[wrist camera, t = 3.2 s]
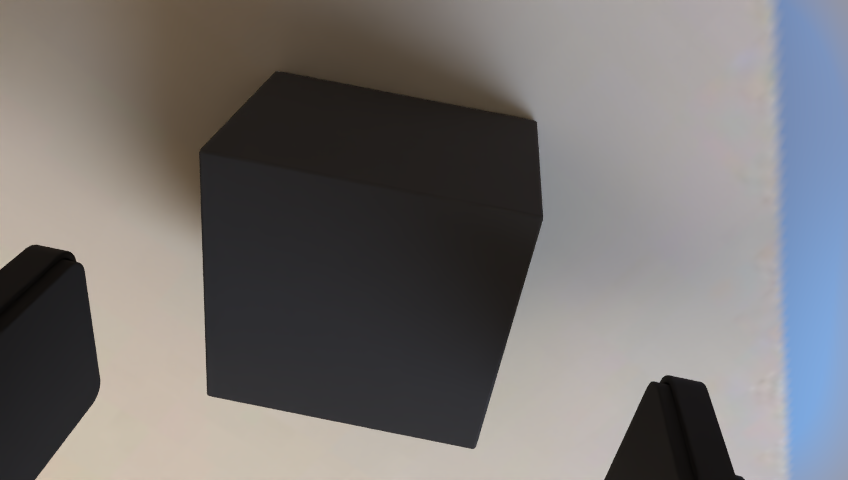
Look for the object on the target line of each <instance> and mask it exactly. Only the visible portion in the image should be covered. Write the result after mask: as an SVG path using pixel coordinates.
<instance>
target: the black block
mask: <svg viewBox="0 0 848 480" xmlns="http://www.w3.org/2000/svg"><path fill="white" fill-rule="evenodd" d="M199 158H200V189H201V219H202V250H203V281H204V312H205V343H206V373H207V395H209V396H212V397H217V398H222V399H227V400H232V401H237V402H242V403H247V404H252V405H257V406H262V407H267V408H272V409H277V410H282V411H286V412H291V413H296V414H301V415H306V416H311V417H316V418H321V419H326V420H331V421H336V422H341V423H346V424H351V425H356V426H361V427H366V428H371V429H376V430H381V431H386V432H391V433H396V434H401V435H406V436H411V437H416V438H421V439H426V440H431V441H436V442H441V443H446V444H451V445H456V446H461V447H465V448H470V449H474V448H475V447H476V445H477V441H478V438H479V435H480V431H481V428H482V424H483V421H484V418H485V414H486V411H487V407H488V404H489V401H490V397H491V394H492V390H493V387H494V384H495V380H496V377H497V373H498V370H499V367H500V363H501V360H502V356H503V353H504V350H505V346H506V343H507V340H508V336H509V333H510V329H511V326H512V323H513V319H514V316H515V312H516V309H517V306H518V302H519V299H520V295H521V292H522V289H523V285H524V282H525V278H526V275H527V272H528V268H529V265H530V262H531V258H532V255H533V251H534V248H535V245H536V241H537V238H538V234H539V231H540V228H541V224H542V221H543V209H542V194H541V178H540V163H539V147H538V132H537V122H536V121H534V120H528V119H523V118H518V117H513V116H508V115H502V114H497V113H492V112H487V111H482V110H476V109H471V108H466V107H461V106H455V105H450V104H445V103H440V102H435V101H429V100H424V99H419V98H414V97H409V96H403V95H398V94H393V93H388V92H383V91H377V90H372V89H367V88H362V87H357V86H351V85H346V84H341V83H336V82H331V81H325V80H320V79H315V78H310V77H305V76H299V75H294V74H289V73H284V72H279V71H277V72H275V73H274V74H273V75H272V76H271V77H270V78H269V79H268V80H267V81H266V82H265V83H264V84H263V85H262V86H261V87H260V88H259V90H258V91H257V92H256V93H255V94H254V95H253V96H252V97H251V98H250V99H249V100H248V101H247V102H246V103H245V104H244V105H243V106H242V107H241V108H240V109H239V110H238V111H237V112H236V113H235V114H234V115H233V116H232V117H231V118H230V119H229V120H228V122H227V123H226V124H225V125H224V126H223V127H222V128H221V129H220V130H219V131H218V132H217V133H216V134H215V135H214V136H213V137H212V138H211V139H210V140H209V141H208V142H207V143H206V144H205V145H204V146H203V147H202V148H201V149H200V151H199Z"/></svg>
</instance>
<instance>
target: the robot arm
mask: <svg viewBox="0 0 848 480" xmlns="http://www.w3.org/2000/svg"><path fill="white" fill-rule="evenodd" d="M99 388H100V375H99V368H98V361H97V354H96V347H95V340H94V333H93V326H92V319H91V312H90V305H89V298H88V292H87V285H86V278H85V271H84V267H83V265H82V264H81V263H78V262H76V259H75V256H74V255H73V254H72V253H71V252H69V251H64V250H60V249H55V248H50V247H45V246H40V245H31V246H29V247H28V248H26V249H25V250H24V251H22V252H21V253H20V254H19V255H18V256H16V257H15V258H14V259H13V260H12V261H10V262H9V263H8V264H7V265H6V266H4V267H3V268H2V269H1V270H0V480H35V479H36V478H37V476H38V475H39V474H40V472H41V471H42V470H43V468H44V467H45V466H46V464H47V463H48V462H49V461H50V459H51V458H52V457H53V455H54V454H55V453H56V451H57V450H58V449H59V447H60V446H61V445H62V443H63V442H64V441H65V439H66V438H67V437H68V436H69V434H70V433H71V432H72V430H73V429H74V428H75V426H76V425H77V424H78V422H79V421H80V420H81V418H82V417H83V416H84V414H85V413H86V412H87V411H88V409H89V408H90V407H91V405H92V404H93V402H94V401H95V399H96V397H97V395H98V392H99ZM604 480H745V479H744V478H743V477H741V476H737V475H735V473H734V470H733V467H732V464H731V461H730V458H729V455H728V451H727V448H726V445H725V442H724V439H723V436H722V433H721V430H720V427H719V424H718V421H717V418H716V415H715V412H714V409H713V406H712V403H711V399H710V396H709V393H708V390H707V388H706V386H705V384H703V383H702V382H698V381H693V380H688V379H684V378H679V377H674V376H669V375H667V376H664V377H663V378H662V380H661V381H660V383H658V382H651V383H650V384H649V385H648V387H647V389H646V391H645V393H644V395H643V397H642V400H641V402H640V404H639V406H638V408H637V410H636V413H635V415H634V417H633V419H632V421H631V423H630V426H629V428H628V430H627V432H626V434H625V436H624V438H623V441H622V443H621V445H620V447H619V449H618V451H617V454H616V456H615V458H614V460H613V462H612V464H611V467H610V469H609V471H608V473H607V475H606V477H605V479H604Z"/></svg>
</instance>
